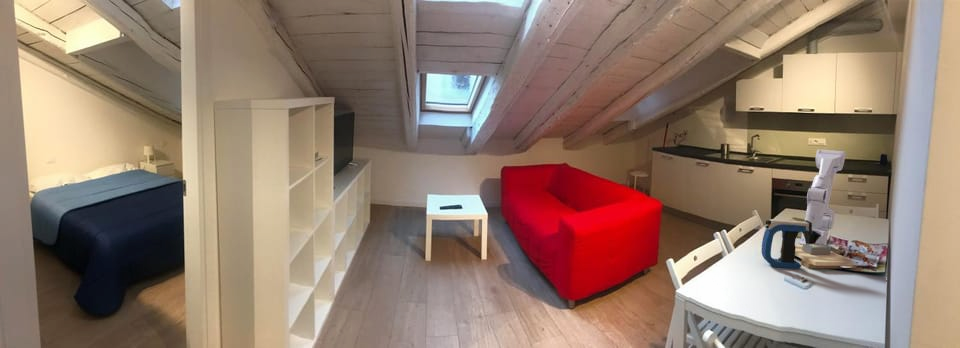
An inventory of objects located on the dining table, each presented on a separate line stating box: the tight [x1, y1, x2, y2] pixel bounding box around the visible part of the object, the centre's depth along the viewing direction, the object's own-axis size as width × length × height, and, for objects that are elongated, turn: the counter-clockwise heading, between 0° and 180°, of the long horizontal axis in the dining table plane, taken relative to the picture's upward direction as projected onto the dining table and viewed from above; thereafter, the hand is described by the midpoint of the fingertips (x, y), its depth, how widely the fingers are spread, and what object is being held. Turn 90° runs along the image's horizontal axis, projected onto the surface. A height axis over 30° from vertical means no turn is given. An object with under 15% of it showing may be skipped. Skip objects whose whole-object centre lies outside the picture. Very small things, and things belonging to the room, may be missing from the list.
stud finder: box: [802, 244, 832, 255], centre depth 189 cm, size 5×8×3 cm, turn 91°
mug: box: [789, 216, 805, 239], centre depth 221 cm, size 12×10×10 cm
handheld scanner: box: [761, 218, 812, 270], centre depth 181 cm, size 4×16×19 cm, turn 78°
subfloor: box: [779, 244, 856, 269], centre depth 189 cm, size 20×18×4 cm
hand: (809, 247), depth 193 cm, fingers closed
